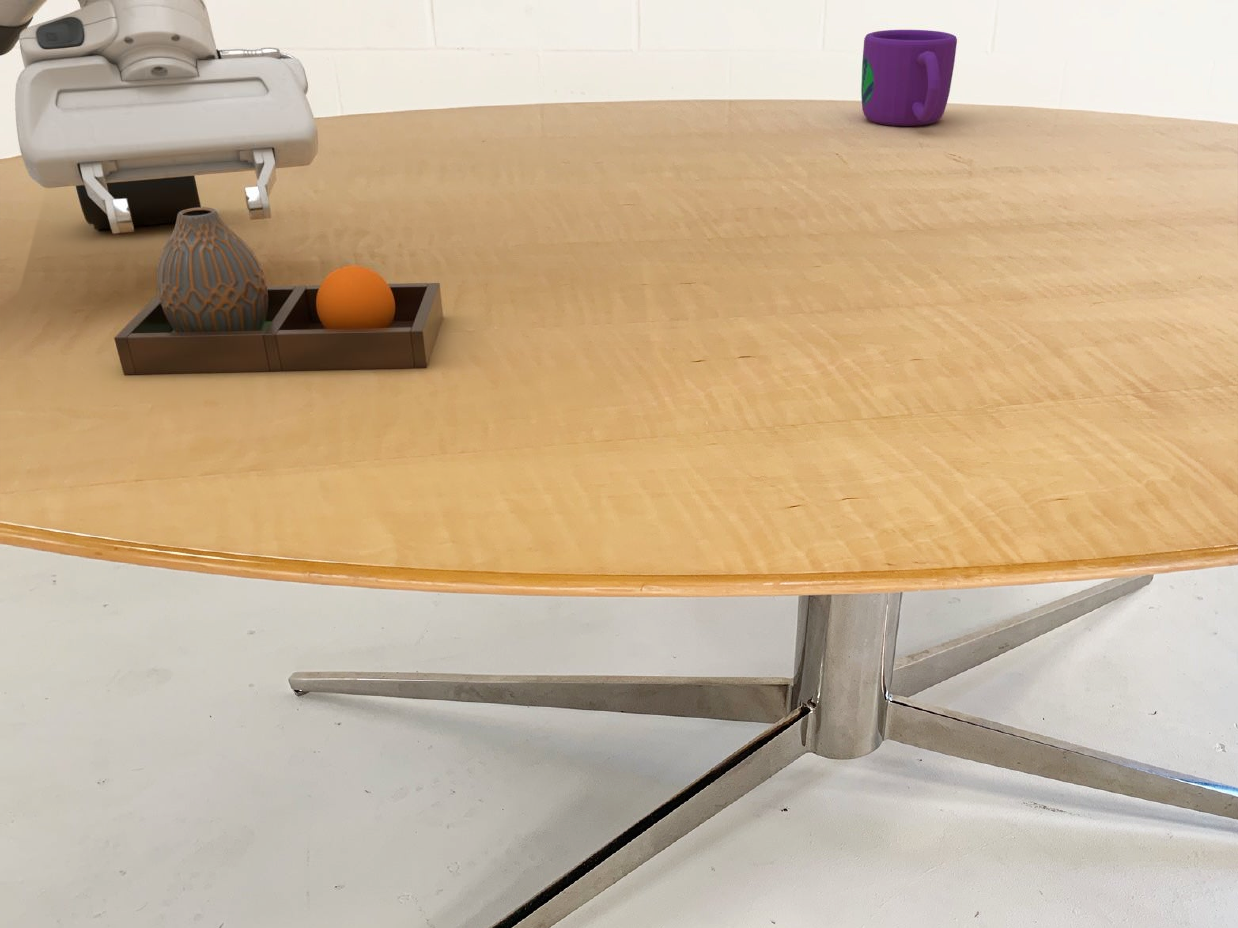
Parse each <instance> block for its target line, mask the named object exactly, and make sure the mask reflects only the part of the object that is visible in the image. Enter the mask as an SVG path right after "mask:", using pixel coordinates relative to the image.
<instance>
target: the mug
mask: <svg viewBox="0 0 1238 928" xmlns="http://www.w3.org/2000/svg"><path fill="white" fill-rule="evenodd" d="M957 43H958V39H957V36H956V35H954V34H952V33H949V32H945V31H938V30H927V29H887V30H877V31H873V32H870V33H867V34H866V35H865V36H864V39H863V50H862V63H861V88H860V93H861V94H860V95H861V107H862V108H861V109H862V113H863V115H864V116H865V118H866V119H867V120H868V121H870V122H872V123H875V124H879V125H883V126H884V125H885V126H891V127H921V126H928V125H931V124H934V123H936V122H938V121H939V120H941V119H942V117H943V116H944V114H945V111H946V109H947V108H946V107H947V104H948V100H949V96H950V93H951V86H952V81H953V74H954V68H955V61H956V53H957V46H958V45H957Z"/></svg>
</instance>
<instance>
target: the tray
mask: <svg viewBox="0 0 1238 928" xmlns="http://www.w3.org/2000/svg"><path fill="white" fill-rule="evenodd" d="M387 284H388V286H389V287H390V289H391V291H392V293H393V296H394V301H395V314H394V319H393V322H392V324H391V326H390V328H359V329H325V327H324V326H323V325H322V323H321V321H320V319H319V316H318V313H317V307H316V298H317V293H318V290H319V287H320V285H321V284H313V285H311V284H309V285H308V284H307V285H270V286H268V285H267V291H268V311H267V317H266V321H265V324H264V326H263V328H262V330H261V331H220V332H175V330H174V329H173V328H172V326H171V325H170V323H169V321H168V320H167V318H166V316H165V314H164V312H163V309H162V306H161V302H160V299H159V294H158V293H157V294H156V295H155V296H154V297H153V298H152V299H151V300H150V301H149V302H148V303H147V304H146V305H145V306H144V307H143V308H142V309H141V310H140V311H139V312H138V313H137V314H136V315H135V316H134V317H133V318H132V320H130V321H129V322H128V323H127V324H126V325H125V326H124V328H122V329H121V330H120V331H119V333H117V334H116V335H115V336H114V343H115V347H116V350H117V355H118V358H119V362H120V365H121V369H122V373H123V375H124V376H125V377H126V376H162V375H164V376H167V375H168V376H169V375H206V374H207V375H208V374H209V375H210V374H247V373H249V374H250V373H252V374H253V373H289V372H290V373H292V372H294V373H295V372H298V373H299V372H334V371H335V372H337V371H338V372H340V371H373V370H374V371H376V370H377V371H378V370H381V371H382V370H383V371H384V370H415V369H416V370H420V369H421V370H422V369H423V370H424V369H425V370H426V369H428V366H429V363H430V360H431V357H432V354H433V350H434V347H435V344H436V341H437V338H438V335H439V333H440V328H441V326H442V322H443V320H444V311H443V302H442V292H441V283H440V282H412V283H411V282H410V283H409V282H408V283H405V282H404V283H387Z"/></svg>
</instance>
